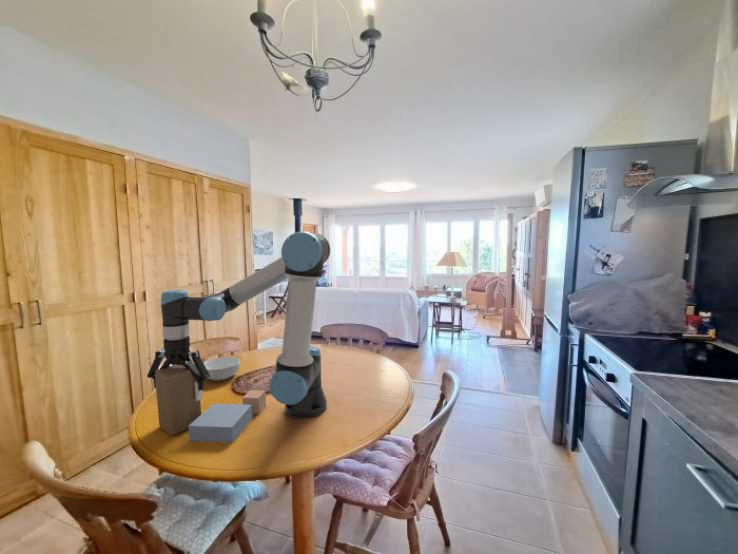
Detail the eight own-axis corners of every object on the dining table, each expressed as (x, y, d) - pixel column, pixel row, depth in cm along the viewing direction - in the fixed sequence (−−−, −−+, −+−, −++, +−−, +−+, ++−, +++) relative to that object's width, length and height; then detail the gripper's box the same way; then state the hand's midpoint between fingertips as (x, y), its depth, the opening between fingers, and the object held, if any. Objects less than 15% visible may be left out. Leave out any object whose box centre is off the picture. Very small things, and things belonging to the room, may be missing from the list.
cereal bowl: (244, 379, 147) (243, 364, 146) (204, 388, 137) (202, 372, 137) (236, 367, 161) (235, 353, 160) (198, 375, 151) (197, 361, 151)
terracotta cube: (266, 405, 122) (265, 390, 121) (259, 414, 116) (258, 398, 115) (250, 405, 122) (249, 390, 122) (243, 413, 117) (242, 397, 116)
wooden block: (189, 414, 116) (185, 360, 114) (203, 423, 110) (199, 366, 108) (158, 427, 108) (153, 369, 106) (171, 437, 102) (167, 376, 100)
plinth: (252, 418, 113) (251, 404, 113) (232, 442, 99) (232, 427, 99) (214, 417, 114) (213, 403, 114) (189, 441, 100) (188, 425, 100)
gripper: (219, 334, 110) (221, 394, 112) (149, 332, 111) (152, 391, 113) (206, 341, 102) (209, 405, 104) (131, 339, 104) (136, 401, 106)
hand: (179, 398), depth 109 cm, fingers closed on wooden block, 13 cm apart
